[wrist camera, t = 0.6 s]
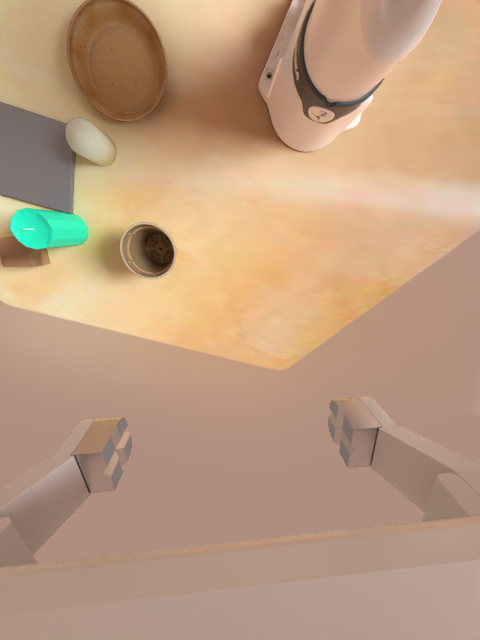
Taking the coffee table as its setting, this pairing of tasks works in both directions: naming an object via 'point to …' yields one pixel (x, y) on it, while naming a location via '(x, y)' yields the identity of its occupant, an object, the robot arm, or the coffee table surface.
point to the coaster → (35, 159)
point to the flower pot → (147, 250)
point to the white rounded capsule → (90, 142)
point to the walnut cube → (21, 254)
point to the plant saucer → (117, 58)
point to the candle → (48, 228)
